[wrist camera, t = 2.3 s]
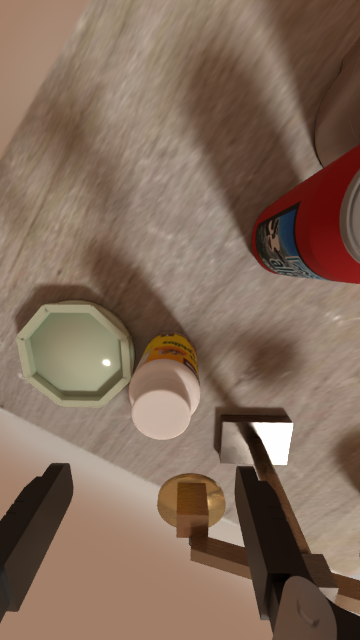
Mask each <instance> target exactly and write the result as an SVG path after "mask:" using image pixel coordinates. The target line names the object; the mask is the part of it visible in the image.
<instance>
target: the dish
mask: <svg viewBox="0 0 360 640" xmlns="http://www.w3.org/2000/svg"><path fill="white" fill-rule="evenodd" d="M16 341H17V345H18V350H19V355H20V360H21V364H22V369H23V374H24V378H26V379H25V380H27V381H28V382H29V383H30V384H32V385H33V386H34V387H36V388H37V389H38V390H39V391H41V392H42V393H43V394H45V395H46V396H47V397H48V398H50V399H51V400H52V401H54V402H55V403H56V404H57V405H59V406H60V405H61V406H62V407H102V406H104V405H105V404H106V403H107V402H109V401H110V400H111V399H112V398H113V397H114V396H115V395H116V394H117V393H118V392H119V391H120V390H121V389H122V388H123V387H125V386H126V385H127V384H128V383H129V382H130V381H131V379H132V376H133V372H132V371H133V368H134V365H135V346H134V342H133V339H132V336H131V334H130V332H129V330H128V329H127V327H126V326H125V324H124V323H123V322H122V321H121V320H120V318H119V317H118V316H116V315H115V314H114V313H113V312H112V311H110V310H108V309H107V308H105V307H103V306H101V305H99V304H97V303H94V302H90V301H85V300H66V301H62V302H58V303H47V304H44V305H42V306H41V307H40V309H39V310H38V311H37V312H36V313H35V315H34V316H33V317H32V318H31V319H30V321H29V322H28V323H27V324H26V325H25V326H24V328H23V329H22V330H21V331H20V332H19V334H18V335H17V338H16Z"/></svg>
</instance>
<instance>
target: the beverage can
mask: <svg viewBox="0 0 360 640" xmlns="http://www.w3.org/2000/svg"><path fill="white" fill-rule="evenodd" d="M251 242H252V250H253V253H254V256H255V258H256V260H257V261H258V263H259V264H260V265H261V266H262V267H263V268H265V269H266V270H268V271H270V272H272V273H275V274H280V275H287V276H294V277H302V278H310V279H318V280H327V281H337V282H346V283H356V284H360V145H358V146H356V147H354V148H353V149H351V150H350V151H348V152H347V153H345V154H344V155H342V156H341V157H339V158H338V159H336V160H335V161H333V162H332V163H330V164H329V165H327V166H326V167H324V168H323V169H321V170H320V171H318V172H317V173H315V174H314V175H313V176H311V177H310V178H308V179H307V180H305V181H304V182H302V183H301V184H299V185H298V186H297V187H295V188H294V189H292V190H291V191H289V192H288V193H287V194H285V195H284V196H282V197H281V198H280V199H278V200H277V201H275V202H274V203H273V204H271V205H270V206H269V207H267V208H266V209H265V210H264V211H263V212H262V214H261V215H260V216H259V218H258V219H257V221H256V223H255V226H254V228H253V232H252V241H251Z"/></svg>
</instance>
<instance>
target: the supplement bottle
mask: <svg viewBox="0 0 360 640" xmlns="http://www.w3.org/2000/svg"><path fill="white" fill-rule="evenodd" d="M129 399H130V402H131V405H132V420H133V422H134V424H135V426H136V427H137V428H138V430H139V431H140V432H142V433H143V434H144V435H146V436H148V437H151V438H154V439H170V438H174V437H176V436H178V435H180V434H181V433H182V432H183V431H184V430H185V429H186V428H187V426H188V424H189V422H190V418H191V415H192V414H193V413H194V411H195V410H196V408H197V406H198V404H199V400H200V383H199V375H198V365H197V357H196V350H195V347H194V345H193V343H192V342H191V341H190V340H189V339H188V338H187V337H186V336H184V335H183V334H180V333H177V332H163V333H160V334H158V335H157V336H155V337H154V338H153V339H152V340H151V341H150V342H149V344H148V345H147V348H146V350H145V352H144V354H143V356H142V358H141V360H140V362H139V364H138V366H137V368H136V370H135V372H134V374H133V376H132V379H131V381H130V385H129Z"/></svg>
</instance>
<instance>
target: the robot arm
mask: <svg viewBox="0 0 360 640" xmlns="http://www.w3.org/2000/svg"><path fill="white" fill-rule="evenodd" d="M315 145H316V150H317V154H318V157H319V159H320V161H321V163H322V165H323V167H326V166H327V165H329V164H330V163H332V162H333V161H335V160H336V159H338V158H339V157H341V156H342V155H344V154H345V153H347V152H348V151H350V150H351V149H353V148H354V147H356V146H358V145H360V37H359V38H358V39H357V41H356V42H355V43H354V45H353V46H352V47H351V49H350V50H349V51H348V52H347V54H346V55H345V56H344V59H343V66H342V69H341V73H340V74H339V76H338V77H337V79H336V80H335V81H334V83H333V84H332V85H331V87H330V88H329V89H328V91H327V93H326V95H325V97H324V99H323V101H322V103H321V105H320V109H319V112H318V115H317V119H316V125H315ZM72 496H73V481H72V475H71V469H70V464H69V463H52V464H50V466H49V467H48V468H47V469H46V471H45V472H44V474H43V475H42V477H36V478H35V479H33V480H32V481H31V482H30V483H29V484H28V485H27V486H26V487H24V489H23V490H22V492H21V493H20V494H19V496H18V497H17V498H16V500H15V502H14V504H12V505H11V507H10V508H9V510H8V511H7V512H6V515H4V516H3V518H2V519H1V521H0V622H1V620H2V618H3V616H4V614H5V612H6V611H13V612H17V611H19V609H20V606H21V604H22V602H23V600H24V598H25V596H26V594H27V592H28V590H29V588H30V586H31V584H32V581H33V579H34V577H35V575H36V573H37V571H38V569H39V567H40V565H41V563H42V561H43V559H44V556H45V554H46V552H47V550H48V548H49V546H50V544H51V542H52V540H53V538H54V536H55V534H56V531H57V529H58V527H59V525H60V523H61V521H62V519H63V517H64V515H65V513H66V511H67V508H68V507H69V504H70V502H71V499H72ZM235 503H236V508H237V513H238V518H239V522H240V527H241V531H242V536H243V541H244V545H245V550H246V554H247V559H248V564H249V568H250V573H251V577H252V582H253V587H254V591H255V596H256V600H257V605H258V610H259V614H260V619H261V620H270V623H271V628H272V632H273V639H272V640H360V616H358V615H356V614H354V613H351V612H349V611H347V610H345V609H343V608H341V607H339V606H337V605H336V604H334V603H333V602H332V601H331V600H329V599H328V598H327V597H326V596H325V595H324V594H323V593H322V592H321V591H320V589H319V588H318V587H317V585H316V584H315V583H314V581H313V579H312V578H311V576H310V574H309V572H308V569H307V567H306V564H305V562H304V560H303V557H302V555H301V552H300V550H299V547H298V545H297V542H296V540H295V537H294V535H293V533H292V530H291V528H290V525H289V523H288V522H287V518H286V515H285V513H284V511H283V509H282V506H281V503H280V501H279V498H278V496H277V493H276V492H275V490H274V489H273V488H272V487H271V485H270V484H269V483H268V482H267V481H259V480H258V478H257V475H256V472H255V469H254V467H253V466H237V468H236V479H235Z"/></svg>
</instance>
